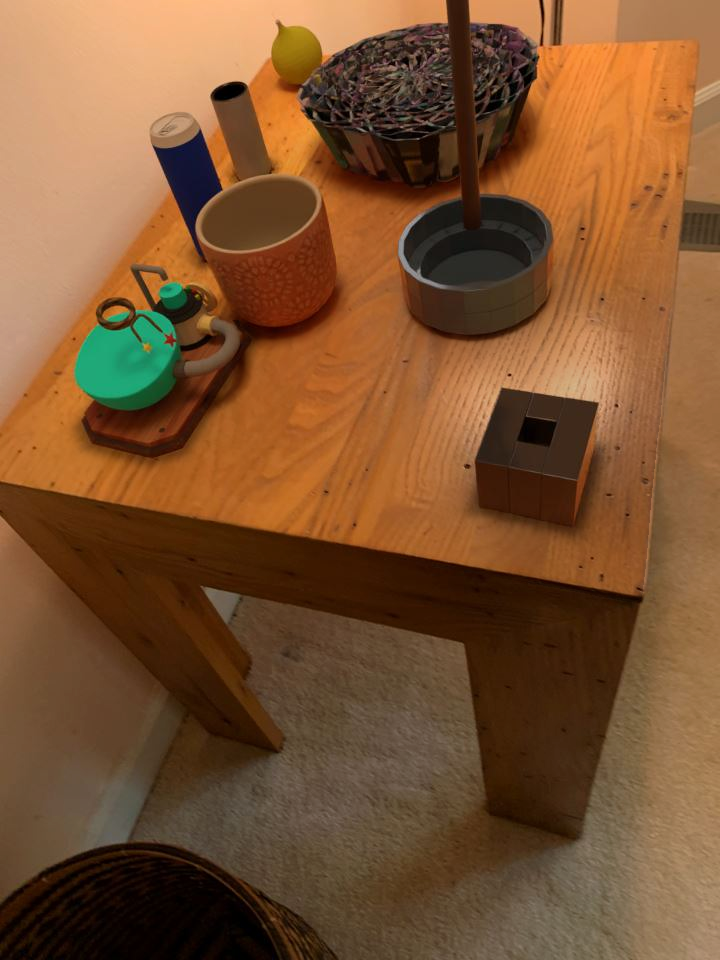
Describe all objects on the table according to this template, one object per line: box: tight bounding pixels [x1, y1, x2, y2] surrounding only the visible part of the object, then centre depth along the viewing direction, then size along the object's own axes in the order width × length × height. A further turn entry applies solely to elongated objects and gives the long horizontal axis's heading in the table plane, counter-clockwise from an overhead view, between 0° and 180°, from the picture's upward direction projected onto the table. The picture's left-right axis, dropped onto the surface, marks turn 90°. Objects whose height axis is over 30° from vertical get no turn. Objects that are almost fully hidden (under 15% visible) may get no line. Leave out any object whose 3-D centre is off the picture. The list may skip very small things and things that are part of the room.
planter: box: [195, 173, 338, 328], centre depth 74 cm, size 12×12×11 cm
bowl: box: [397, 192, 554, 336], centre depth 71 cm, size 14×14×6 cm
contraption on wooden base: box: [73, 263, 252, 458], centre depth 68 cm, size 14×18×15 cm
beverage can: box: [149, 111, 224, 260], centre depth 80 cm, size 5×5×15 cm
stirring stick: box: [445, 0, 482, 231], centre depth 58 cm, size 2×2×26 cm
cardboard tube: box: [209, 80, 272, 181], centre depth 90 cm, size 4×4×10 cm
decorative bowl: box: [296, 21, 541, 189], centre depth 88 cm, size 26×28×10 cm
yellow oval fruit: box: [270, 14, 323, 86], centre depth 102 cm, size 7×7×10 cm
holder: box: [474, 387, 600, 527], centre depth 57 cm, size 7×7×6 cm
